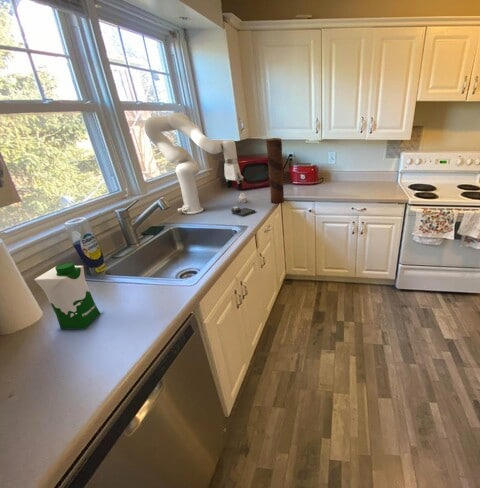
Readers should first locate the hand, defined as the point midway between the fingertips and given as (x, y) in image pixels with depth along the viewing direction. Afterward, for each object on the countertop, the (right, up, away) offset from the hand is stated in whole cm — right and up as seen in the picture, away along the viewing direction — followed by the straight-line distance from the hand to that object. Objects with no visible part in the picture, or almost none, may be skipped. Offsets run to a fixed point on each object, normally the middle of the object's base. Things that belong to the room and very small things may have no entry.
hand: (235, 188), depth 181 cm
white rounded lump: (-3, -5, +27) cm, 28 cm away
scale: (+5, -15, +4) cm, 17 cm away
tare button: (0, -13, +2) cm, 13 cm away
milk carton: (-18, -60, -93) cm, 113 cm away
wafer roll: (+23, -5, +29) cm, 37 cm away
